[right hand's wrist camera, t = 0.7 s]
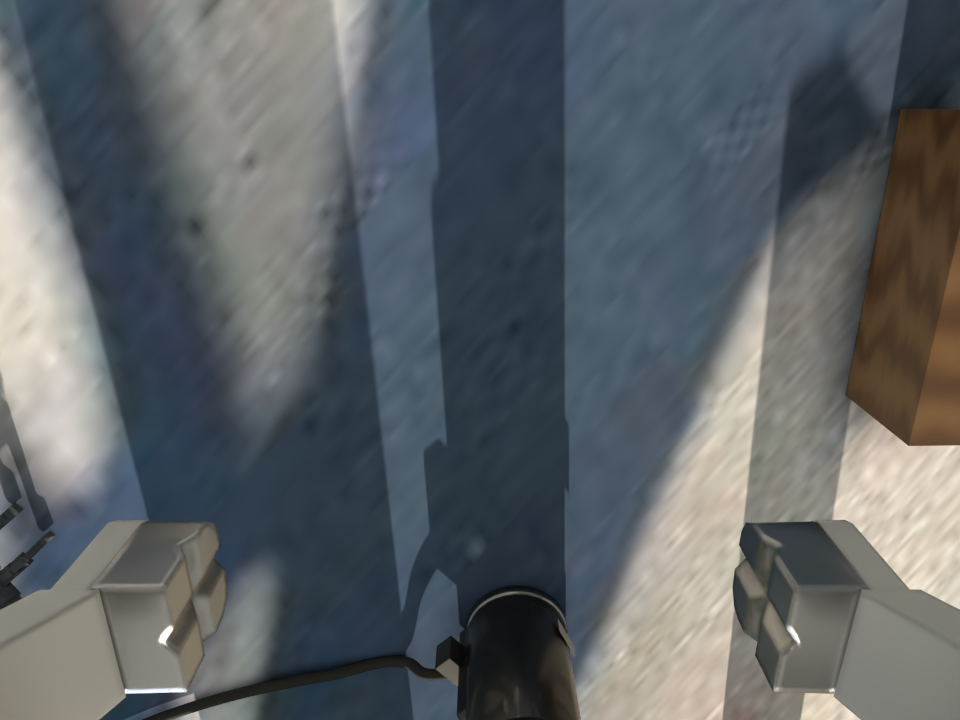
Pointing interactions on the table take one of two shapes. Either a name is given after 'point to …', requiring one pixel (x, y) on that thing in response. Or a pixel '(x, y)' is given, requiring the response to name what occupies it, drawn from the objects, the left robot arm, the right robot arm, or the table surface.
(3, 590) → the toy
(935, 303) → the bar
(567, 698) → the left robot arm
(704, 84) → the table surface
